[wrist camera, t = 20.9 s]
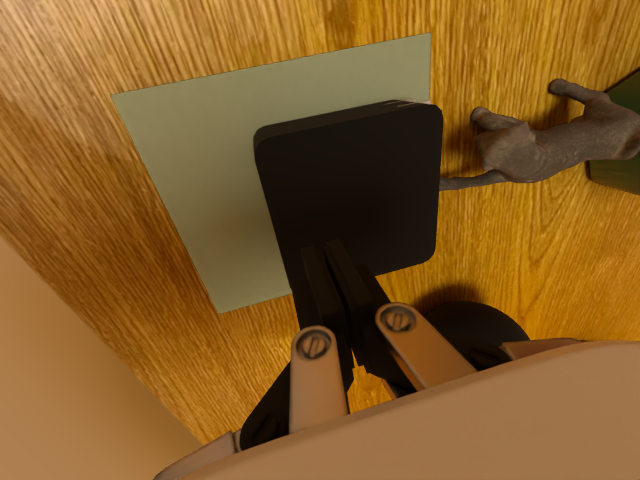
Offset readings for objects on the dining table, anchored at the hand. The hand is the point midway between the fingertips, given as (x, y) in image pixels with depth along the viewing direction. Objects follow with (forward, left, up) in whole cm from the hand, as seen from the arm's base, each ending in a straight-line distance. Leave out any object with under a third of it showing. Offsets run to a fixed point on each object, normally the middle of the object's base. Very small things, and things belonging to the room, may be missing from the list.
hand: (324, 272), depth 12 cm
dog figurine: (+16, +1, -9) cm, 19 cm away
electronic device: (-2, 0, -7) cm, 7 cm away
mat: (+1, 0, -9) cm, 9 cm away
